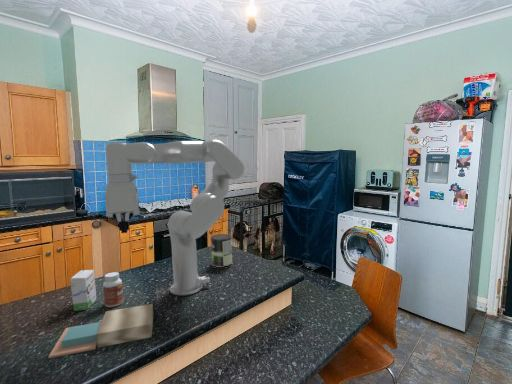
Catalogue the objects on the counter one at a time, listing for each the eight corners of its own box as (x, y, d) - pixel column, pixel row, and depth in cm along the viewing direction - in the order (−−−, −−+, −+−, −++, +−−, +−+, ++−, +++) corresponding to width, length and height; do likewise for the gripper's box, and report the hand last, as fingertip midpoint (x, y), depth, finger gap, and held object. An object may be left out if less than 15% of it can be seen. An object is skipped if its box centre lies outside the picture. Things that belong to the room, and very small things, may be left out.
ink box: (88, 309, 101) (85, 277, 100) (72, 311, 100) (69, 278, 99) (97, 298, 109) (94, 268, 108) (83, 300, 109) (80, 270, 108)
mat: (105, 322, 92) (105, 321, 92) (95, 349, 79) (95, 347, 79) (66, 329, 89) (65, 327, 89) (48, 358, 75) (48, 356, 75)
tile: (103, 327, 88) (103, 321, 88) (99, 340, 81) (98, 334, 81) (70, 334, 85) (69, 327, 85) (62, 348, 79) (61, 341, 79)
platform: (153, 315, 96) (152, 303, 95) (151, 337, 84) (150, 324, 83) (106, 323, 92) (105, 311, 91) (97, 347, 79) (96, 333, 79)
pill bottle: (121, 306, 103) (118, 276, 102) (102, 309, 101) (99, 278, 100) (125, 298, 109) (122, 270, 108) (107, 300, 107) (105, 272, 106)
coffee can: (212, 269, 137) (211, 240, 136) (210, 262, 147) (209, 235, 146) (234, 266, 139) (233, 238, 138) (230, 259, 149) (229, 233, 148)
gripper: (144, 178, 103) (148, 228, 105) (98, 180, 99) (102, 232, 101) (143, 178, 96) (147, 232, 98) (93, 181, 92) (98, 237, 94)
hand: (124, 232), depth 99 cm, fingers closed
